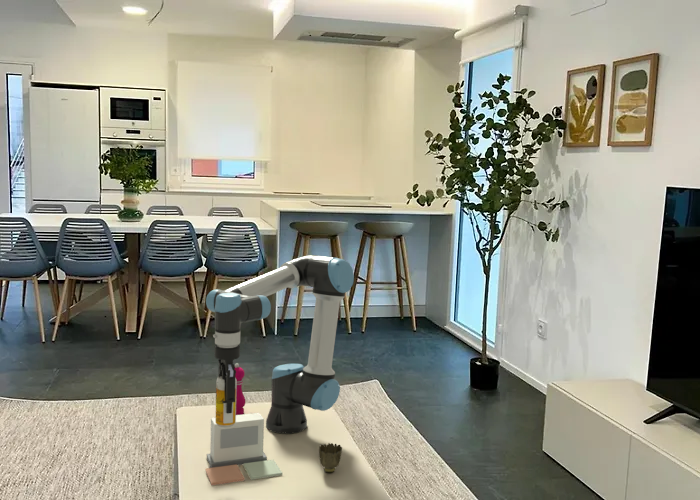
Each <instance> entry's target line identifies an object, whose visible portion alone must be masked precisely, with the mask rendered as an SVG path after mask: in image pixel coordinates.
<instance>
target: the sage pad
mask: <svg viewBox="0 0 700 500" xmlns="http://www.w3.org/2000/svg"><path fill="white" fill-rule="evenodd" d="M242 466H243V469H244V470H245V472H246V473H247V476H248V477H249V478H250V480H252V481H253V480H258V479H263V478H271V477H277V476H279V477H280V476H283V471H282V470H281V468H280V467H279V465H278V463H276V461H275V459H268V460H266V461H258V462H251V463H243V465H242Z"/></svg>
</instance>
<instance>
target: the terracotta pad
mask: <svg viewBox="0 0 700 500" xmlns="http://www.w3.org/2000/svg"><path fill="white" fill-rule="evenodd" d="M204 469H205V471H204V472H205V473H206V475H207V479H208V481H209V482H210V485H211V486H216V485H223V484H230V483H236V482H243V481H245V476H244V475H243V473H242V471H241V468H240V467H239V465H237V464H236V465H228V466H221V467H213V468H211V467H209V468H206V467H205V468H204Z"/></svg>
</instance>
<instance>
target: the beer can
mask: <svg viewBox="0 0 700 500" xmlns="http://www.w3.org/2000/svg"><path fill="white" fill-rule="evenodd" d="M225 377H226V376H225ZM215 383H216V386H215V417H216V424H217V425H218V426H219V427H231V426H233V425H234V423H235V422H236V389H237V380H236V378H235V402H233V423H223V415H224V403H222V401H225V393H224V387H225V383H224V380H223V379H222V376H220V375H219V376H217V378H216V381H215Z"/></svg>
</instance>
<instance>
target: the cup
mask: <svg viewBox="0 0 700 500" xmlns="http://www.w3.org/2000/svg"><path fill="white" fill-rule="evenodd" d="M318 452H319V453H318V455H319V456H318V457H319V462H320V466H322V467H323V471H324V472H325V473H327V474H333V473H335V471H336V469H337V467H338V466H339V465H340V463H341V458H342V452H343V447H342V446H341V444H338V445H337V443H333V442H332V443H331V442H328V443H327V444H326V443H324V444H320V445H319V446H318Z"/></svg>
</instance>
